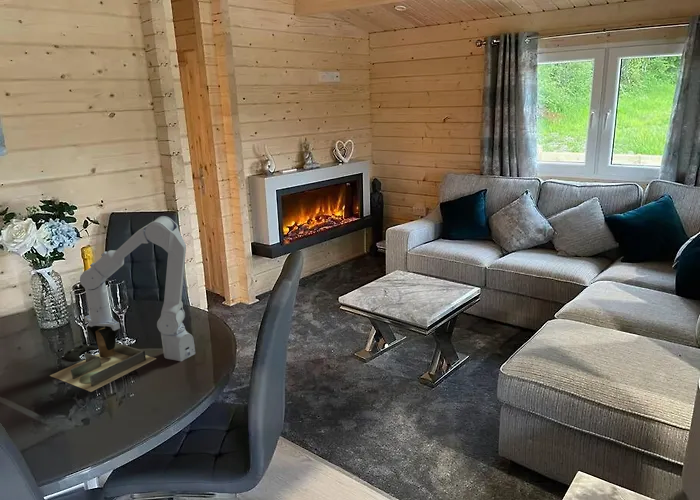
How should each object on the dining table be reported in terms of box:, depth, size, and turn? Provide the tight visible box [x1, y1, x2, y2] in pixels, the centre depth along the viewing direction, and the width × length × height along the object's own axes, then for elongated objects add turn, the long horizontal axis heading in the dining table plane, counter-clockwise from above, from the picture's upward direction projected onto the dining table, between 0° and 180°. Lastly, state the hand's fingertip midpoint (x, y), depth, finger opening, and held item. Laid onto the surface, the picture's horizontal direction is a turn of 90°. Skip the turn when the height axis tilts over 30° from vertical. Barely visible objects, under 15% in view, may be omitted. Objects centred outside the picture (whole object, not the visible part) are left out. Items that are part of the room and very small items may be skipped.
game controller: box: [64, 344, 98, 362], centre depth 166 cm, size 10×5×6 cm
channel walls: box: [71, 341, 146, 387], centre depth 156 cm, size 16×18×3 cm
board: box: [49, 352, 157, 393], centre depth 157 cm, size 20×22×1 cm
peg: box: [95, 328, 115, 358], centre depth 161 cm, size 4×4×8 cm
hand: (106, 347), depth 161 cm, fingers closed on peg, 4 cm apart
